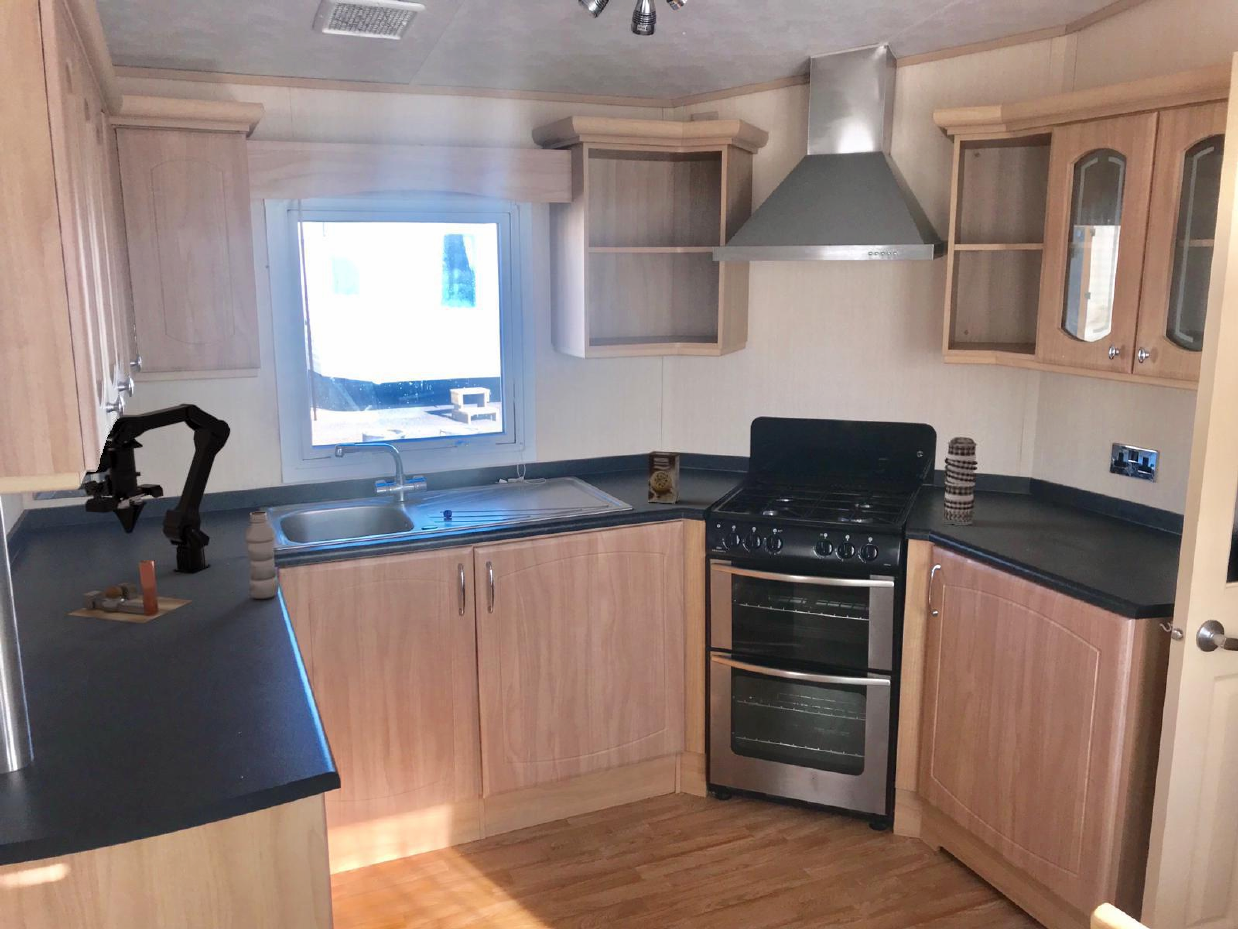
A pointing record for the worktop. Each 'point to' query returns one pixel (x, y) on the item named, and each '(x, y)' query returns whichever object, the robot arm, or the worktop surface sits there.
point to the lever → (119, 604)
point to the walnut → (113, 592)
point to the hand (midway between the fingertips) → (129, 533)
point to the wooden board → (130, 595)
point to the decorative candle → (960, 479)
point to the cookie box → (663, 477)
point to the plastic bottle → (261, 557)
